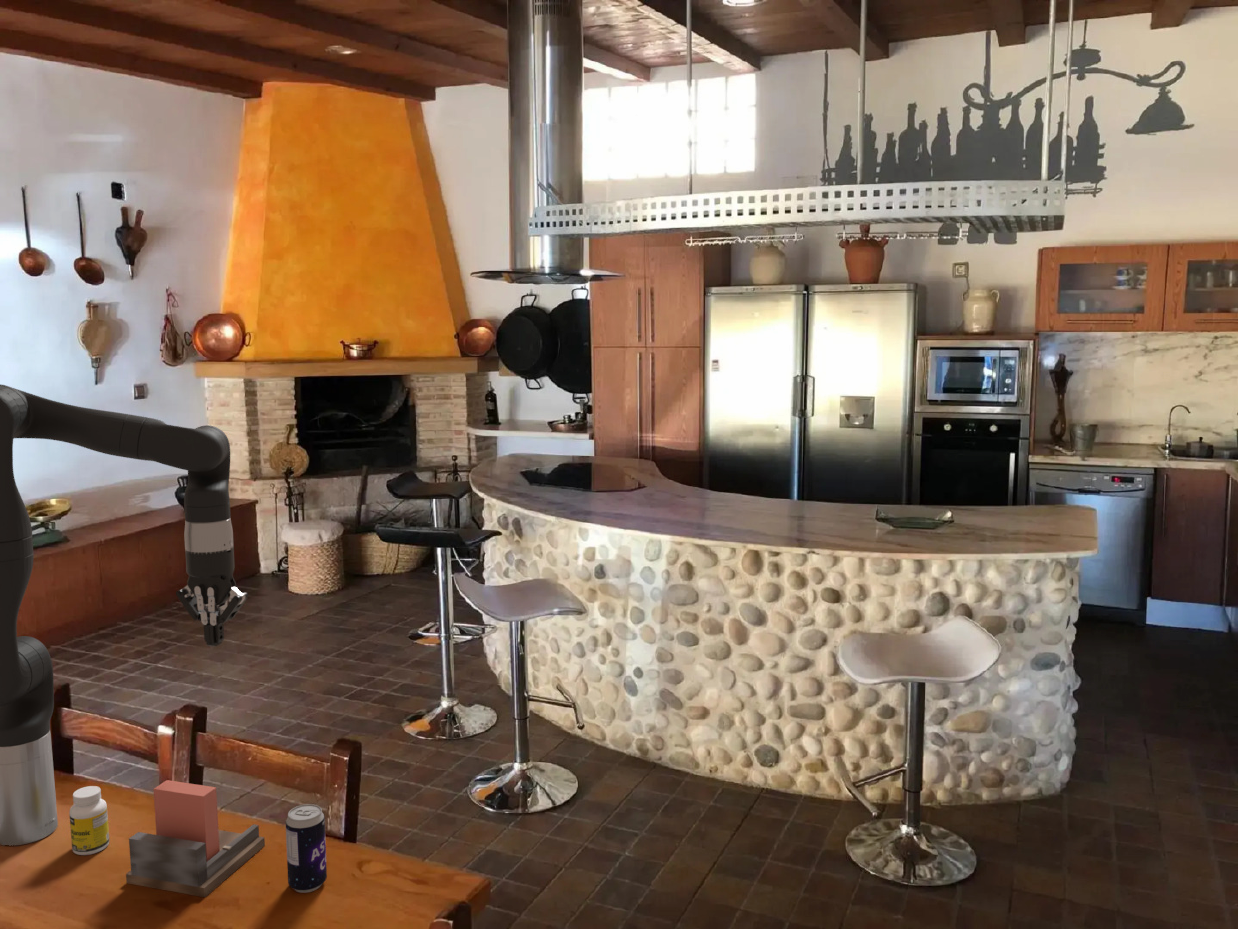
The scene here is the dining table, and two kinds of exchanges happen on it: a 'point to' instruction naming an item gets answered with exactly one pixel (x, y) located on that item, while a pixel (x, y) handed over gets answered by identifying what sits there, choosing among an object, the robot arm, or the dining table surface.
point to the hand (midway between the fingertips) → (214, 644)
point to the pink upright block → (188, 813)
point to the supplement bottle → (88, 821)
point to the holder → (189, 861)
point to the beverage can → (306, 848)
